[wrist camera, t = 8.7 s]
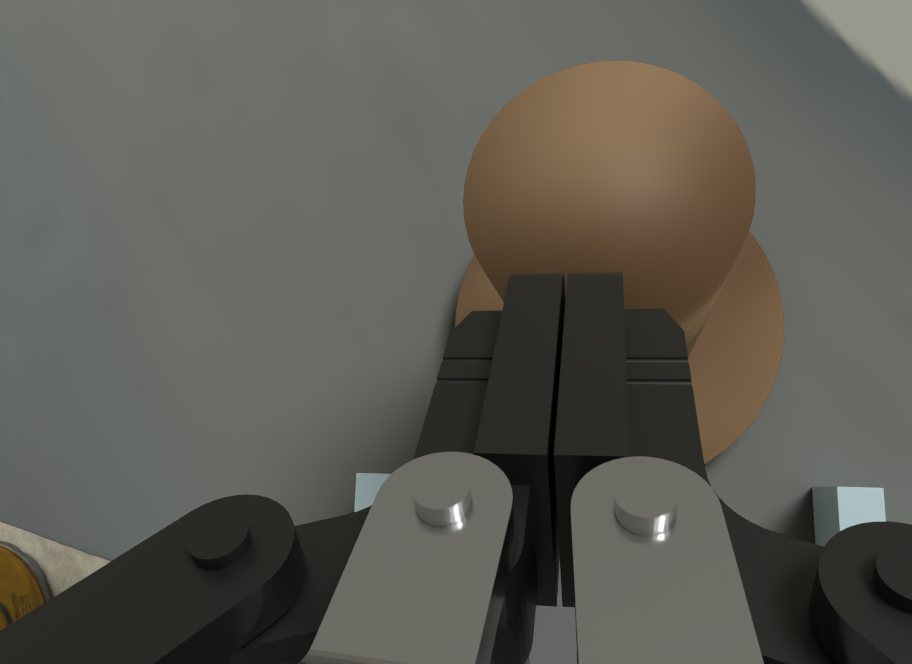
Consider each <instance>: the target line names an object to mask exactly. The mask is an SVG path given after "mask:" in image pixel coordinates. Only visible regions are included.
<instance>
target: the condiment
mask: <svg viewBox="0 0 912 664" xmlns="http://www.w3.org/2000/svg"><path fill="white" fill-rule="evenodd" d="M109 562H110V561H108V560H105V559H102V558H100V557H96V556H92V555H89V554H87V553H84V552H82V551H78V550H76V549H73V548H71V547H68V546H64V545H61V544H59V543H57V542H54V541H51V540H48V539H45V538H43V537H40V536H38V535H36V534H33V533H30V532H27V531H25V530H22V529H19V528H16V527H13V526H10V525H7V524H4V523H2V522H0V631H1V630H2V629H4V628H5V627H7V626H9V625H10V624H12V623H13V622H15V621H17V620H18V619H20V618H21V617H23V616H25V615H26V614H28V613H29V612H31V611H33V610H34V609H36V608H37V607H39V606H41V605H42V604H44V603H45V602H47V601H49V600H50V599H52V598H53V597H55V596H57V595H58V594H60V593H61V592H63V591H65V590H66V589H68V588H69V587H71V586H73V585H74V584H76V583H77V582H79V581H81V580H82V579H84V578H85V577H87V576H89V575H90V574H92V573H93V572H95V571H97V570H98V569H100V568H101V567H103V566H105V565H106V564H108V563H109Z"/></svg>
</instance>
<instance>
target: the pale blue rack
mask: <svg viewBox="0 0 912 664" xmlns="http://www.w3.org/2000/svg"><path fill="white" fill-rule="evenodd" d="M390 475H391V474H378V473H356V491H355V509H354V512H357V511H360V510H362V509H365V508H367V507H369V506H371V505H372V504H373V502H374V499H375V497H376V495H377V493H378V491H379V489H380V487H381V485H382V484H383V483H384V481H385V480H386V479H387V478H388V477H389V476H390ZM812 495H813V512H814V529H815V544H816V545H820V546H823V547H824V546H825V545H826V543H827V542H828V541H829V539H830V538H832V537H833V536H834V535H835V534H837V533H838V532H840V531H842V530H844V529H846V528H848V527H850V526H854V525H857V524H861V523H868V522H886V518H885V505H884V492H883V488H864V487H812Z"/></svg>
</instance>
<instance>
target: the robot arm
mask: <svg viewBox="0 0 912 664" xmlns="http://www.w3.org/2000/svg"><path fill="white" fill-rule="evenodd" d="M559 558H560V570H561V587H562V604H563V606H564V607H575V616H576V639H577V664H912V525H909V524H905V523H897V522H868V523H861V524H857V525H854V526H850V527H848V528H846V529H844V530H842V531H840V532H838V533H837V534H835V535H834V536H833V537H832V538H830V539H829V541H828V542H827V543H826V545H825V546H824V547H823V546H820V545H816V544H813V543H809V542H806V541H803V540H799V539H796V538H792V537H789V536H785V535H782V534H779V533H776V532H773V531H770V530H767V529H764V528H762V527H760V526H758V525H756V524H753V523H751V522H750V521H748V520H746V519H745V518H743V517H741V516H740V515H738V514H737V513H736V512H734V511H733V510H732V509H730V508H729V507H728V506H727V505H726V504H725V503H724V502H723V501H722V500H721V499H720V498H719V497H718V495H717V494H716V493H715V491H714V490H713V489H712V487H711V485H710V483H709V481H708V479H707V475H706V471H705V466H704V459H703V452H702V446H701V439H700V433H699V426H698V419H697V413H696V406H695V399H694V393H693V386H692V384H691V373H690V366H689V363H688V353H687V346H686V340H685V333H684V330H683V329H682V328H681V327H680V326H679V325H678V323H677V322H676V321H675V320H674V319H673V318H672V317H671V316H670V315H669V313H668V312H667V311H666V310H665V309H664V308H661V309H624V293H623V272H595V273H568V277H567V290H566V296H565V279H564V274H563V273H556V274H511V275H510V276H509V279H508V284H507V289H506V294H505V299H504V304H503V309H502V310H501V311H471V312H470V313H469V314H468V315H467V316H466V317H465V318H464V319H463V320H462V321H461V322H460V323H459V324H458V325H457V326H456V327H455V328H454V329H453V330H452V331H451V333H450V336H449V339H448V343H447V346H446V350H445V353H444V357H443V362H442V364H441V367H440V371H439V374H438V377H437V383H436V384H435V388H434V391H433V395H432V398H431V402H430V405H429V408H428V412H427V415H426V419H425V422H424V426H423V429H422V433H421V436H420V439H419V443H418V446H417V450H416V453H415V457H414V460H412V461H410V462H408V463H406V464H404V465H403V466H401V467H400V468H398V469H397V470H395V471H394V472H393V473H392V474H391V475H390V476H389V477H388V478H387V479H386V480H385V481H384V483H383V484H382V485H381V487H380V489H379V491H378V493H377V495H376V497H375V499H374V502H373V504H372V505H371V506H369V507H367V508H365V509H362V510H360V511H357V512H354V513H351V514H347V515H343V516H339V517H335V518H330V519H326V520H321V521H317V522H312V523H308V524H303V525H299V526H294V523H293V521H292V519H291V516H290V514H289V513H288V512H287V510H286V509H285V508H284V507H283V506H282V505H280V504H279V503H278V502H276V501H274V500H272V499H269V498H266V497H262V496H258V495H235V496H230V497H224V498H221V499H218V500H214V501H212V502H209V503H207V504H205V505H202V506H200V507H198V508H197V509H195V510H193V511H191V512H189V513H188V514H186V515H185V516H183V517H181V518H180V519H178V520H177V521H175V522H173V523H172V524H170V525H169V526H167V527H165V528H164V529H162V530H161V531H159V532H157V533H156V534H154V535H153V536H151V537H149V538H148V539H146V540H145V541H143V542H141V543H140V544H138V545H137V546H135V547H133V548H132V549H130V550H129V551H127V552H125V553H124V554H122V555H121V556H119V557H117V558H116V559H114V560H113V561H111V562H109V563H108V564H106V565H105V566H103V567H101V568H100V569H98V570H97V571H95V572H93V573H92V574H90V575H89V576H87V577H85V578H84V579H82V580H81V581H79V582H77V583H76V584H74V585H73V586H71V587H69V588H68V589H66V590H65V591H63V592H61V593H60V594H58V595H57V596H55V597H53V598H52V599H50V600H49V601H47V602H45V603H44V604H42V605H41V606H39V607H37V608H36V609H34V610H33V611H31V612H29V613H28V614H26V615H25V616H23V617H21V618H20V619H18V620H17V621H15V622H13V623H12V624H10V625H9V626H7V627H5V628H4V629H2V630H1V631H0V664H530V660H529V654H530V651H531V647H532V642H533V632H534V620H535V608H536V605H542V606H557V592H558V575H559Z"/></svg>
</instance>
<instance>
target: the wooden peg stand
mask: <svg viewBox="0 0 912 664" xmlns="http://www.w3.org/2000/svg"><path fill="white" fill-rule="evenodd" d="M463 206H464V220H465V225H466V230H467V234H468V238H469V241H470V244H471V246H472V249H473V252H474V254H475V255H474V257H473V259H472V261H471V263H470V265H469V267H468V269H467V271H466V274H465V277H464V280H463V282H462V285H461V288H460V292H459V297H458V302H457V307H456V318H455V327H456V326H457V325H458V324H459V323H460V322H461V321H462V320H463V319H464V318H465V317H466V316H467V315H468V314H469V313H470V312H471V311H501V310H502V309H503V304H504V299H505V294H506V289H507V284H508V279H509V276H510V275H511V274H556V273H563V274H564V279H565V296H566V290H567V277H568V273H595V272H623V293H624V309H661V308H664V309H665V310H666V311H667V312H668V313H669V315H670V316H671V317H672V318H673V319H674V320H675V321H676V322H677V323H678V325H679V326H680V327H681V328H682V329H683V330H684V333H685V340H686V346H687V353H688V363H689V366H690V373H691V384H692V386H693V393H694V399H695V406H696V413H697V419H698V426H699V433H700V439H701V446H702V452H703V459H704V464H705V463H707V462H708V461H710V460H711V459H713V458H714V457H716V456H717V455H719V454H720V453H722V452H723V451H724V450H726V449H727V448H728V447H729V446H730V445H731V444H732V443H733V442H734V441H735V440H737V439H738V438H739V437H740V436H741V435H742V434H743V432H744V431H745V430H746V429H747V428H748V426H749V425H750V424H751V423H752V422H753V420H754V419H755V418H756V416H757V415H758V413H759V411H760V410H761V408H762V407H763V405H764V403H765V402H766V400H767V398H768V396H769V393H770V391H771V389H772V387H773V384H774V382H775V380H776V376H777V373H778V369H779V366H780V362H781V358H782V351H783V343H784V313H783V306H782V300H781V294H780V291H779V287H778V284H777V281H776V278H775V274H774V272H773V270H772V268H771V266H770V263H769V261H768V259H767V257H766V255H765V253H764V252H763V250H762V249H761V247H760V246H759V244H758V242H757V241H756V239H755V238H754V236H753V235H752V234H751V233H750V232H749V229H750V225H751V222H752V219H753V213H754V206H755V175H754V169H753V162H752V159H751V156H750V153H749V149H748V146H747V144H746V142H745V139H744V137H743V135H742V133H741V131H740V129H739V127H738V126H737V124H736V123H735V121H734V120H733V119H732V117H731V116H730V114H729V113H728V112H727V111H726V109H725V108H724V107H723V106H722V105H721V104H720V103H719V102H718V101H717V100H716V99H715V98H714V97H713V96H712V95H710V94H709V93H708V92H707V91H706V90H704V89H703V88H702V87H700V86H699V85H697V84H695V83H694V82H692V81H691V80H689V79H688V78H685V77H683V76H681V75H679V74H677V73H675V72H672V71H670V70H667V69H664V68H661V67H657V66H654V65H649V64H644V63H639V62H630V61H600V62H593V63H587V64H581V65H578V66H574V67H571V68H567V69H564V70H561V71H559V72H556V73H554V74H552V75H549V76H547V77H545V78H543V79H541V80H539V81H538V82H536V83H534V84H532V85H531V86H529V87H528V88H526V89H525V90H524V91H522V92H521V93H519V94H518V95H517V96H515V97H514V98H513V99H512V100H511V101H510V102H509V103H508V104H507V105H506V106H505V107H503V108H502V110H501V111H500V112H499V113H498V114H497V115H496V117H495V118H494V119H493V120H492V121H491V123H490V124H489V126H488V127H487V129H486V130H485V132H484V133H483V135H482V136H481V138H480V140H479V142H478V144H477V146H476V148H475V150H474V152H473V155H472V158H471V161H470V164H469V167H468V170H467V175H466V180H465V185H464V199H463Z"/></svg>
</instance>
